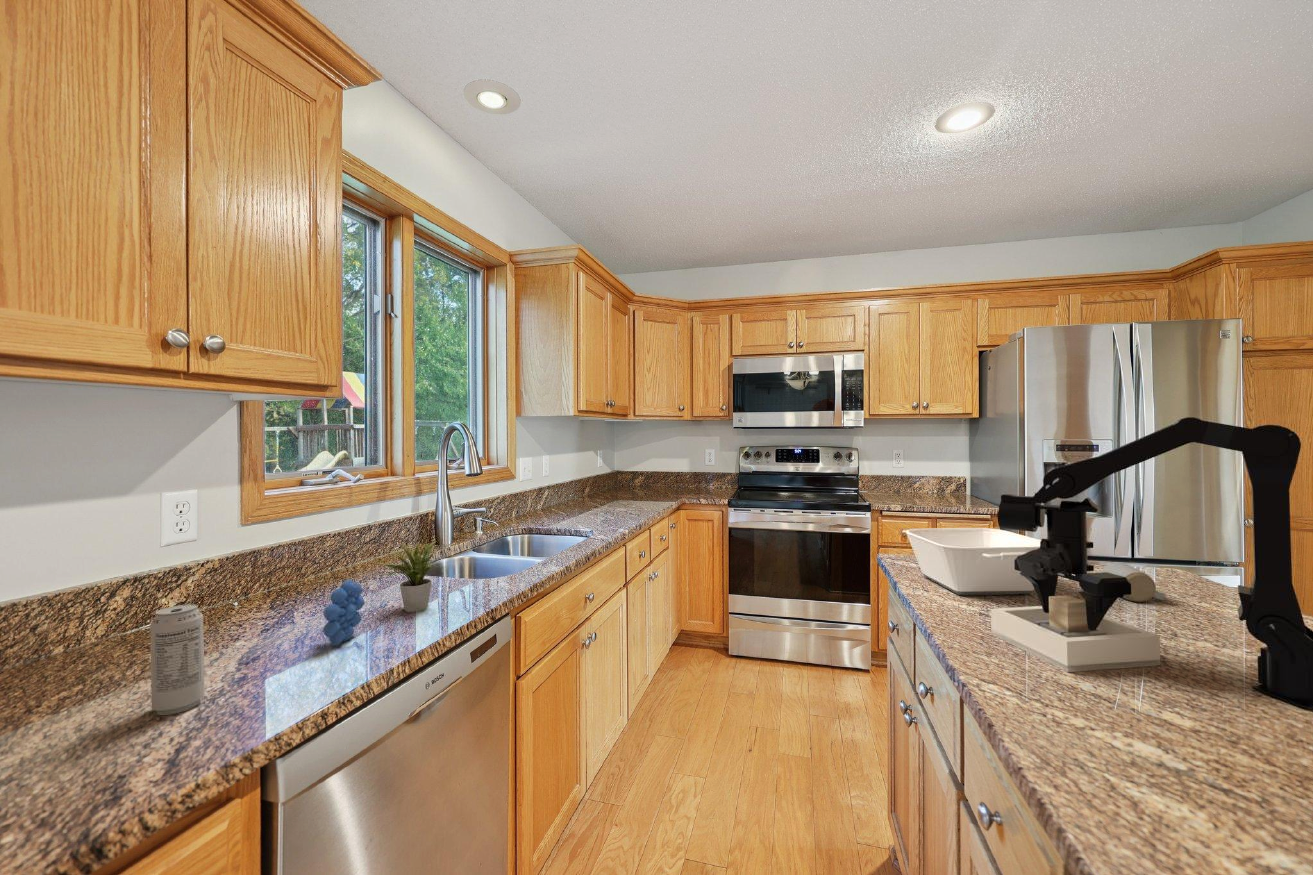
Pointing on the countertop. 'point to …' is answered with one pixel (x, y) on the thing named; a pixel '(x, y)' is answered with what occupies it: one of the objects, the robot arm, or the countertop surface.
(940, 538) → the tub
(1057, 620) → the wooden block
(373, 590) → the countertop surface
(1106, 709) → the countertop surface
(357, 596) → the grapes
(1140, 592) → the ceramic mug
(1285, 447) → the robot arm
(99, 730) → the countertop surface
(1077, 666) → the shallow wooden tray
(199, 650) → the energy drink can
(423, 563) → the house plant
